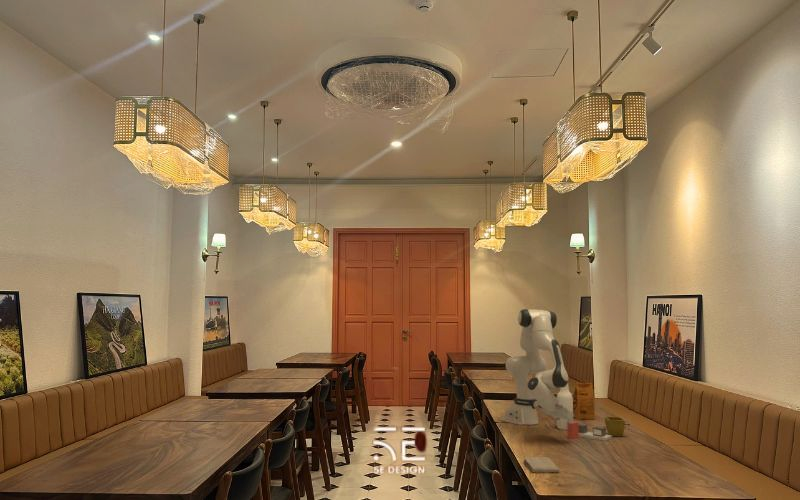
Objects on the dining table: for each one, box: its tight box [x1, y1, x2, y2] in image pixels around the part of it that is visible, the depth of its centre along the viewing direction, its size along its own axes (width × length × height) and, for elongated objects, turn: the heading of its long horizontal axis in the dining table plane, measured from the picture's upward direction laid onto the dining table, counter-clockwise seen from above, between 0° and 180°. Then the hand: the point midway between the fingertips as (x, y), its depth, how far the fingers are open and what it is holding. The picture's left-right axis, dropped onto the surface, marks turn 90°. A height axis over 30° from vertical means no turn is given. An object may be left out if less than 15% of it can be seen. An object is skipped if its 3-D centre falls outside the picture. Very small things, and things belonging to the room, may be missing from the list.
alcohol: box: [556, 382, 574, 431], centre depth 318 cm, size 9×9×30 cm
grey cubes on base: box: [578, 422, 613, 442], centre depth 298 cm, size 20×8×6 cm, turn 51°
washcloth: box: [523, 456, 560, 474], centre depth 242 cm, size 12×18×3 cm, turn 1°
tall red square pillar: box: [566, 420, 579, 440], centre depth 296 cm, size 4×4×8 cm
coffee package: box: [572, 381, 596, 421], centre depth 347 cm, size 10×12×22 cm
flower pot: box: [604, 416, 626, 437], centre depth 302 cm, size 9×9×9 cm
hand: (564, 421), depth 294 cm, fingers open, 8 cm apart
